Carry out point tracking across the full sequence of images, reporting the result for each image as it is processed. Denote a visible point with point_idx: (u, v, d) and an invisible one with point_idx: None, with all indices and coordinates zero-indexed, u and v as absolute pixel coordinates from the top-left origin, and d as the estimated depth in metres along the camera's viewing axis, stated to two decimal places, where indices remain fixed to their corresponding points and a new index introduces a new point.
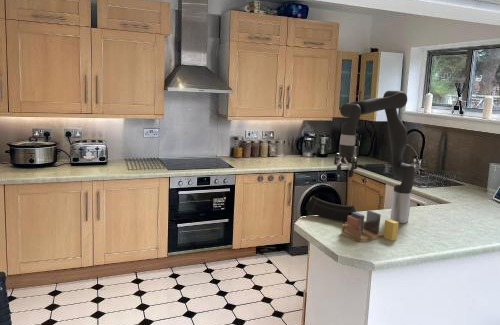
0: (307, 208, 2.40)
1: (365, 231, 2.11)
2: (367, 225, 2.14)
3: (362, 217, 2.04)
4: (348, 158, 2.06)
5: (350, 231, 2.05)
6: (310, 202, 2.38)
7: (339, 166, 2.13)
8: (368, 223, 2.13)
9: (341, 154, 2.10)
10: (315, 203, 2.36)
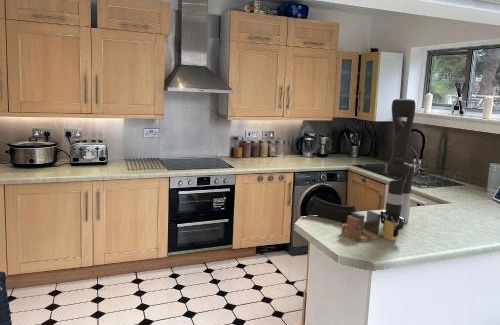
0: (308, 208, 2.40)
1: (365, 231, 2.11)
2: (367, 225, 2.14)
3: (362, 217, 2.04)
4: (395, 217, 2.03)
5: (350, 231, 2.05)
6: (311, 202, 2.38)
7: None
8: (368, 223, 2.13)
9: (387, 211, 2.07)
10: (316, 203, 2.36)
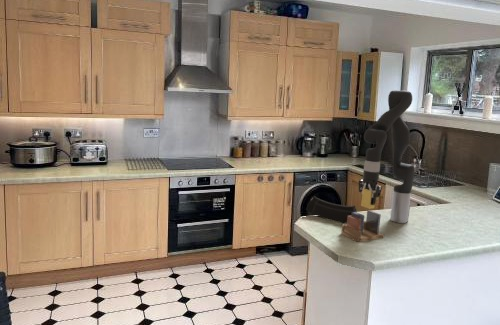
0: (308, 208, 2.40)
1: (365, 231, 2.11)
2: (367, 225, 2.14)
3: (362, 217, 2.04)
4: (372, 185, 2.03)
5: (350, 231, 2.05)
6: (311, 202, 2.38)
7: None
8: (368, 223, 2.13)
9: (365, 180, 2.07)
10: (317, 203, 2.36)
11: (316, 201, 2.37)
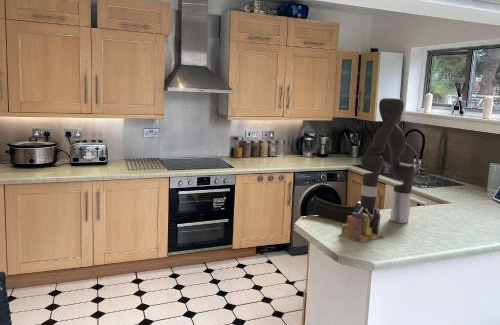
0: (308, 208, 2.40)
1: None
2: None
3: (362, 217, 2.04)
4: (370, 209, 2.05)
5: (350, 231, 2.05)
6: (312, 202, 2.38)
7: None
8: None
9: (362, 204, 2.09)
10: (317, 203, 2.36)
11: (317, 201, 2.37)
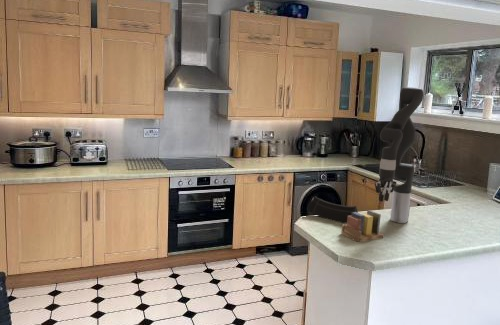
0: (309, 208, 2.39)
1: None
2: None
3: (362, 217, 2.04)
4: None
5: (350, 231, 2.05)
6: (312, 202, 2.38)
7: (386, 193, 2.13)
8: None
9: None
10: (317, 204, 2.36)
11: (317, 201, 2.36)
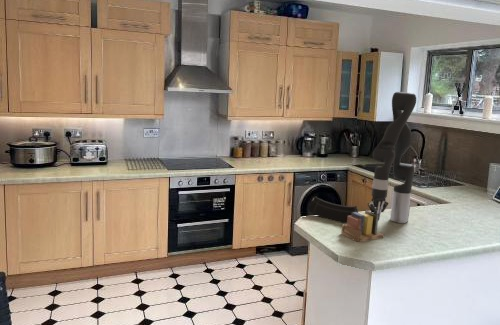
0: (309, 208, 2.39)
1: None
2: None
3: (362, 217, 2.04)
4: None
5: (350, 231, 2.05)
6: (312, 202, 2.38)
7: None
8: None
9: None
10: (318, 204, 2.36)
11: (317, 201, 2.36)
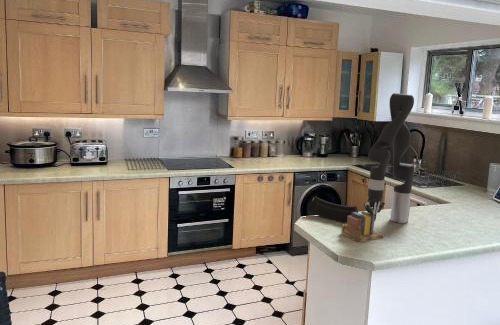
0: (309, 208, 2.39)
1: None
2: None
3: (362, 217, 2.04)
4: None
5: (350, 231, 2.05)
6: (313, 202, 2.38)
7: (373, 213, 2.11)
8: None
9: None
10: (318, 204, 2.36)
11: (317, 201, 2.36)
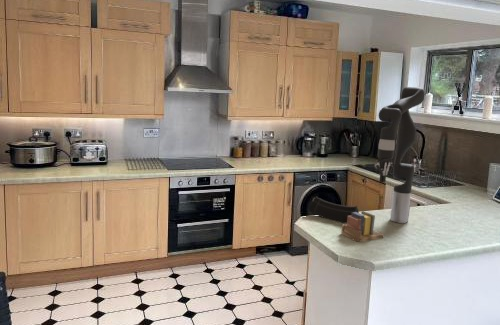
0: (310, 208, 2.39)
1: None
2: None
3: (362, 217, 2.04)
4: None
5: (350, 231, 2.05)
6: (313, 202, 2.37)
7: None
8: None
9: None
10: (318, 204, 2.36)
11: (318, 201, 2.36)
